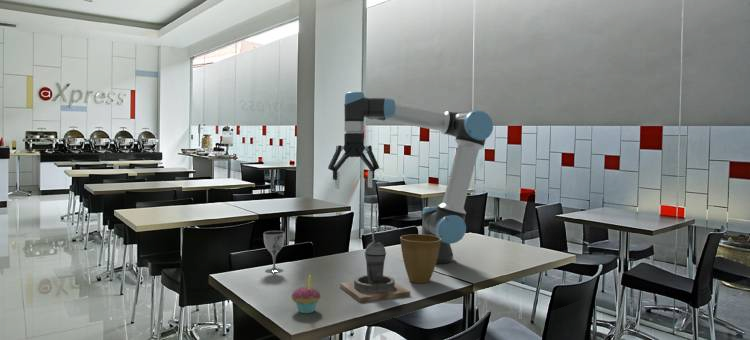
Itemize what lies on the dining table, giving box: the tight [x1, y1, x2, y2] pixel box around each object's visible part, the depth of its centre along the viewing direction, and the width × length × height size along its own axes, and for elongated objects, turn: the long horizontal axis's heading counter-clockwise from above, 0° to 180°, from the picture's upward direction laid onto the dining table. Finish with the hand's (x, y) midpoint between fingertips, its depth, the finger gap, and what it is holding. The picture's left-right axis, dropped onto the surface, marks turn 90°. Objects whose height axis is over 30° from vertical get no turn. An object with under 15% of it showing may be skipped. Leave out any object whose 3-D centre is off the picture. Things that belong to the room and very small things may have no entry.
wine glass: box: [263, 230, 286, 274], centre depth 203 cm, size 8×8×15 cm
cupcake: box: [291, 272, 321, 314], centre depth 156 cm, size 9×8×12 cm
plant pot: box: [399, 233, 441, 284], centre depth 190 cm, size 15×15×16 cm
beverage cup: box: [364, 228, 387, 285], centre depth 176 cm, size 7×7×20 cm
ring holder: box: [339, 274, 411, 303], centre depth 177 cm, size 18×18×4 cm
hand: (353, 188), depth 201 cm, fingers open, 13 cm apart
